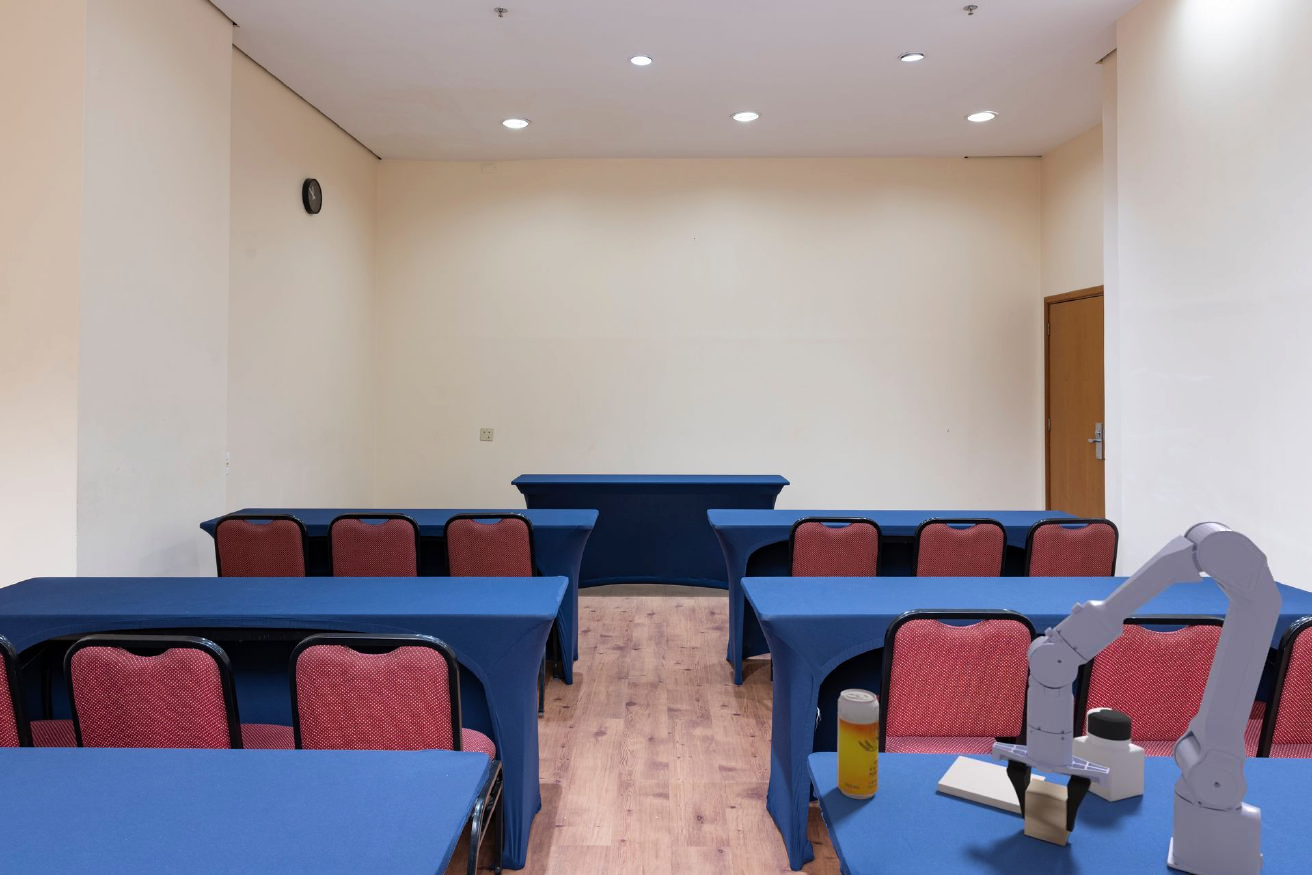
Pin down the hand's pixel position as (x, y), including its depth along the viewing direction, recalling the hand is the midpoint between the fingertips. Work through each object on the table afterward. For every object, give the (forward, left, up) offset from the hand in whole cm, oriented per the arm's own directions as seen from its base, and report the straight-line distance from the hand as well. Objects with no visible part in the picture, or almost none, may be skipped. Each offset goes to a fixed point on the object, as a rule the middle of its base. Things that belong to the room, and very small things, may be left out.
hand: (1047, 821), depth 111 cm
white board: (+10, -9, -2) cm, 14 cm away
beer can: (+26, +4, -2) cm, 26 cm away
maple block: (0, 0, -1) cm, 1 cm away
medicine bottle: (-5, -20, -2) cm, 21 cm away
